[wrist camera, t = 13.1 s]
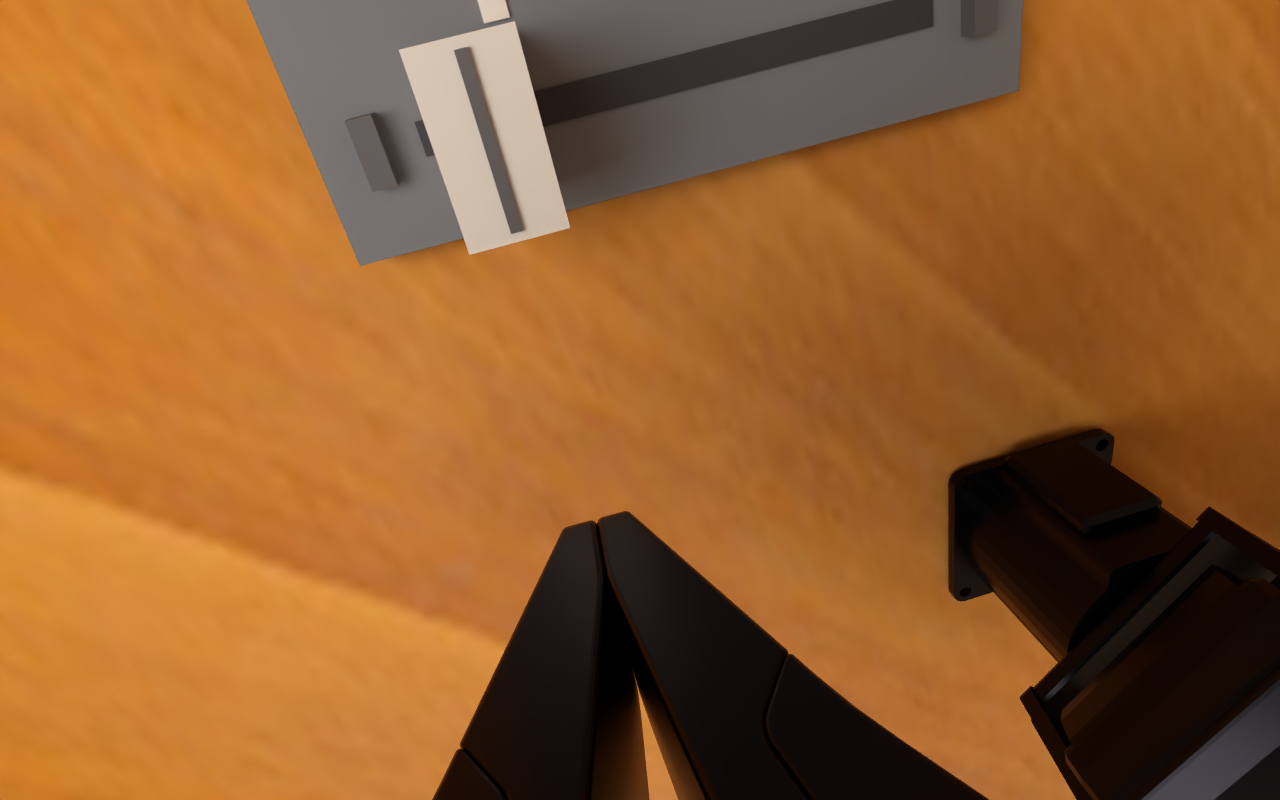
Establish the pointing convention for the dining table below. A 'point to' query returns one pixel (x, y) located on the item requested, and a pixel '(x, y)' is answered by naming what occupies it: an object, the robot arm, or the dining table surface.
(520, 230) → the fader
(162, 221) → the dining table surface
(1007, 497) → the robot arm
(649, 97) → the console
